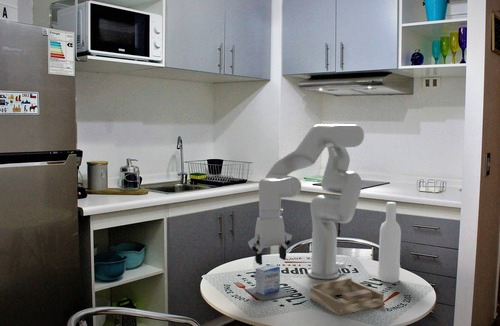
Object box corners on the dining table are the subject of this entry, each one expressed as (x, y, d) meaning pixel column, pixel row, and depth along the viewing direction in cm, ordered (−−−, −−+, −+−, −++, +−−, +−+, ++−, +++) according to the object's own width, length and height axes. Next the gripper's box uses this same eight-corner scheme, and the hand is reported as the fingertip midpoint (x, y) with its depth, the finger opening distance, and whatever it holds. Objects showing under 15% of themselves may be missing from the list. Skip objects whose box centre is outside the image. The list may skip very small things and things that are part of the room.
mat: (274, 285, 186) (274, 284, 186) (292, 295, 175) (292, 294, 175) (245, 290, 180) (245, 289, 180) (262, 301, 170) (262, 300, 170)
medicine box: (263, 295, 174) (263, 270, 173) (255, 292, 177) (255, 268, 177) (280, 290, 179) (280, 266, 178) (271, 287, 183) (271, 263, 182)
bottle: (391, 284, 189) (394, 205, 186) (373, 279, 194) (376, 202, 192) (403, 280, 194) (406, 203, 191) (385, 274, 200) (388, 200, 197)
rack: (352, 290, 181) (352, 277, 181) (383, 305, 167) (383, 290, 167) (310, 299, 172) (310, 284, 172) (339, 315, 159) (339, 300, 158)
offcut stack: (367, 301, 171) (368, 288, 170) (375, 305, 168) (375, 291, 167) (334, 308, 164) (335, 295, 164) (341, 312, 161) (342, 298, 160)
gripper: (285, 208, 183) (285, 254, 185) (243, 214, 174) (244, 262, 177) (296, 212, 176) (297, 260, 178) (253, 219, 168) (254, 268, 170)
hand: (270, 261), depth 177 cm, fingers open, 9 cm apart
